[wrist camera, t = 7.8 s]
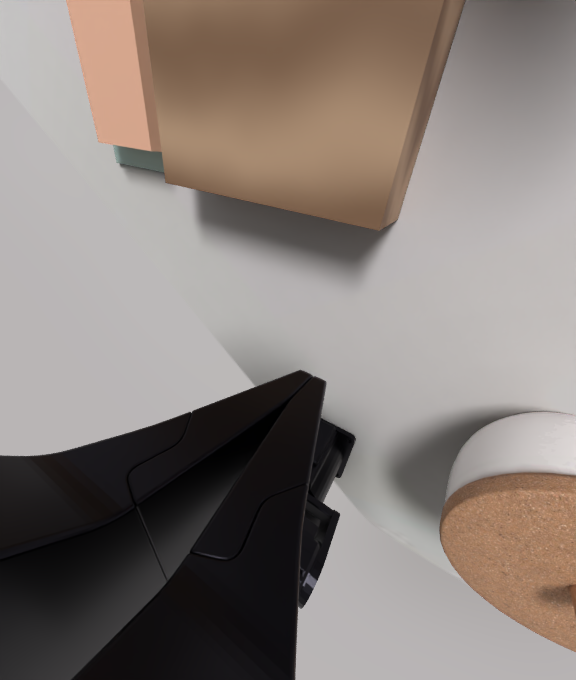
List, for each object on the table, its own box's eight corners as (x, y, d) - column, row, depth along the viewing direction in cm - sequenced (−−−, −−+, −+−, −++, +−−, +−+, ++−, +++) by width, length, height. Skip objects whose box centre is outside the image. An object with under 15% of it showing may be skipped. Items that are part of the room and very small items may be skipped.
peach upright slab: (98, 142, 22) (122, 144, 23) (151, 151, 19) (174, 152, 21) (56, -43, 17) (90, -26, 18) (121, -60, 14) (154, -38, 16)
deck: (397, 219, 16) (379, 230, 13) (209, 181, 21) (165, 182, 18) (520, -178, 9) (542, -351, 6) (197, -91, 14) (122, -161, 11)
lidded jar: (439, 377, 19) (417, 498, 12) (710, 378, 12) (1008, 641, 5) (459, 491, 22) (451, 637, 15) (679, 537, 16) (838, 824, 9)
